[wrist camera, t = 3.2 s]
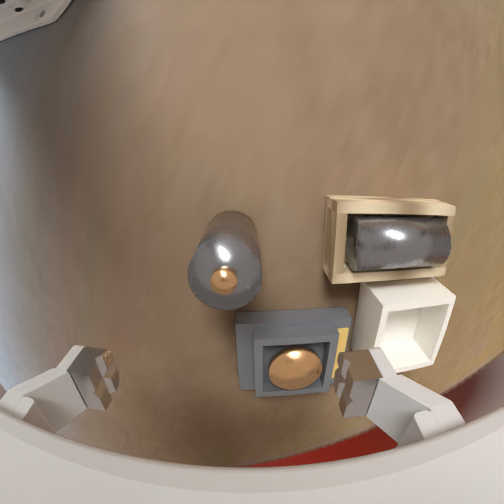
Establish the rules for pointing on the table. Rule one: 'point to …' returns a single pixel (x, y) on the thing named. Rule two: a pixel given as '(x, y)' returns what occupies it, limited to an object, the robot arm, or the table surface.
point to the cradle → (289, 344)
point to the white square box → (403, 320)
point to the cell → (227, 263)
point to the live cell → (396, 242)
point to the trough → (349, 206)
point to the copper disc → (294, 367)
